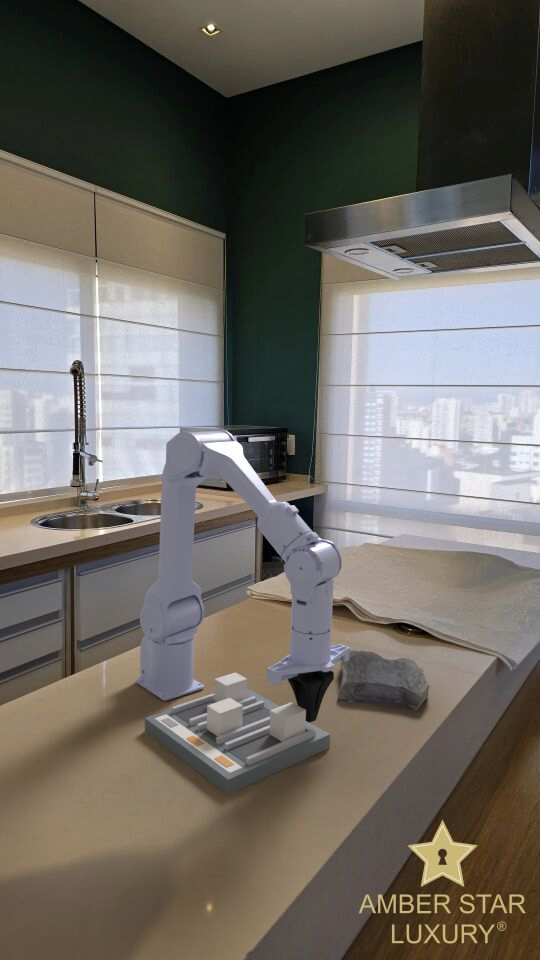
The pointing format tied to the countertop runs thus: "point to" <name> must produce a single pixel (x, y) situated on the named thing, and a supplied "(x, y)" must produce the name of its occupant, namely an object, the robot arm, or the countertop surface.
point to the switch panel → (233, 742)
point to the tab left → (230, 687)
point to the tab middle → (224, 716)
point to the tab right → (287, 721)
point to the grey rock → (382, 681)
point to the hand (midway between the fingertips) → (307, 718)
